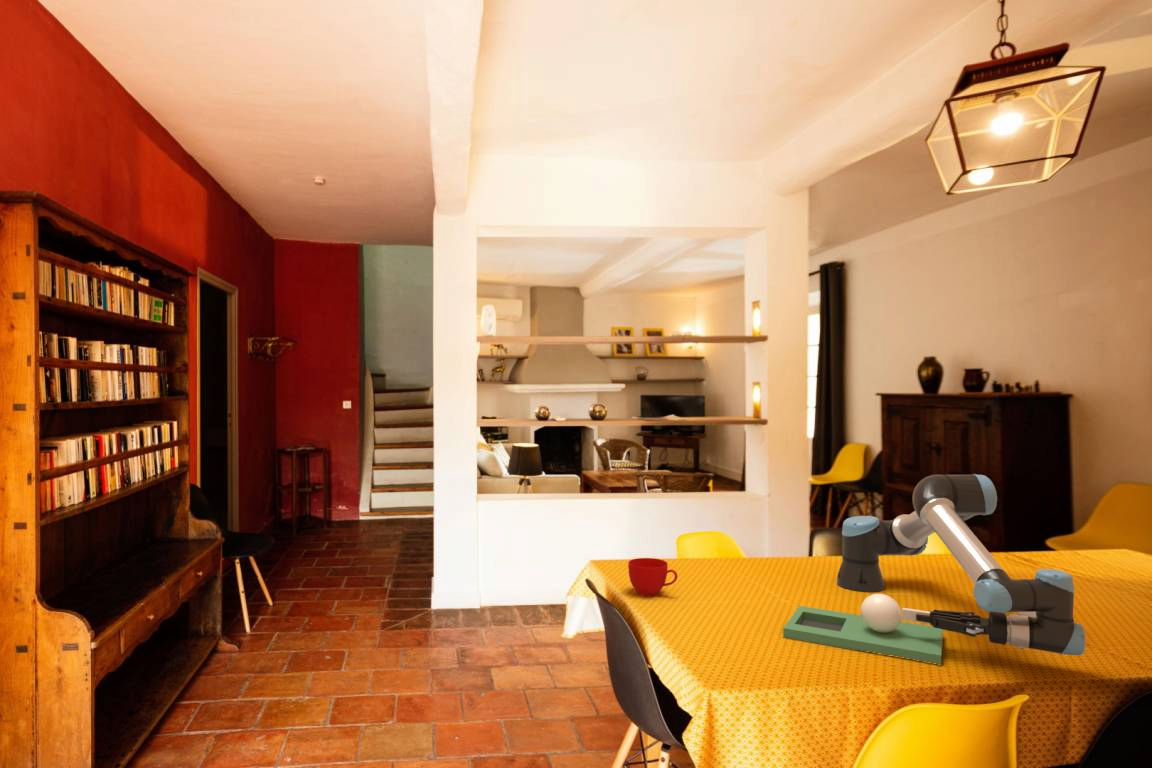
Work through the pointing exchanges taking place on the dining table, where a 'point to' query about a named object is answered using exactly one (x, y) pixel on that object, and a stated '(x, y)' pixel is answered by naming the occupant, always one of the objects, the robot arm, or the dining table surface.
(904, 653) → the putting board
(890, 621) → the ball
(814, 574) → the dining table surface
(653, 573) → the ceramic cup
